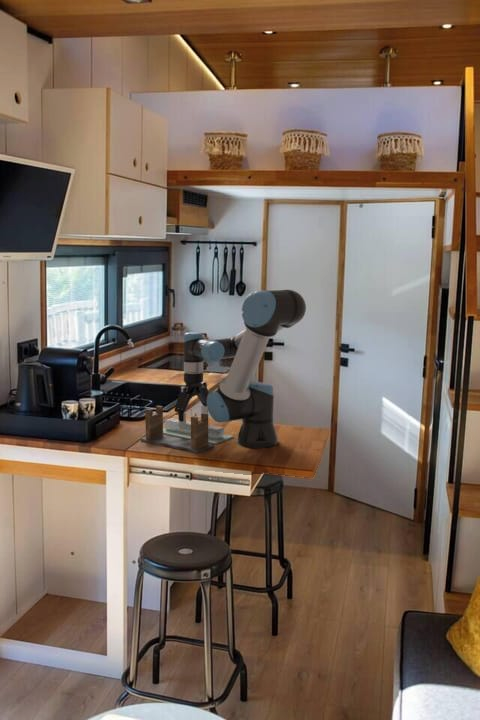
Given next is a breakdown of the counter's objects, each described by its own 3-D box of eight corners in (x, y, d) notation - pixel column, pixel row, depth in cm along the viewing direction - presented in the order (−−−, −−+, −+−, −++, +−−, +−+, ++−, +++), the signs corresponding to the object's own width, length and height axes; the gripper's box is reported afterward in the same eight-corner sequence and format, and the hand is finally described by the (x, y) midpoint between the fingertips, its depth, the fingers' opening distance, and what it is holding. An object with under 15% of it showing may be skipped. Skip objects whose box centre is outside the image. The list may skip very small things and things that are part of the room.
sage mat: (233, 437, 269) (233, 436, 269) (215, 444, 259) (215, 443, 259) (174, 426, 286) (174, 425, 286) (154, 432, 276) (154, 431, 276)
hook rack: (213, 447, 255) (213, 414, 253) (198, 453, 248) (198, 419, 246) (156, 435, 271) (156, 404, 269) (140, 440, 264) (140, 408, 262)
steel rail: (223, 437, 267) (223, 427, 266) (217, 439, 263) (217, 429, 263) (171, 427, 281) (171, 418, 281) (165, 429, 278) (165, 420, 277)
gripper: (205, 366, 281) (205, 418, 284) (164, 375, 261) (165, 430, 264) (220, 368, 276) (220, 420, 280) (180, 377, 256) (180, 433, 260)
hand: (193, 425), depth 272 cm, fingers open, 13 cm apart
